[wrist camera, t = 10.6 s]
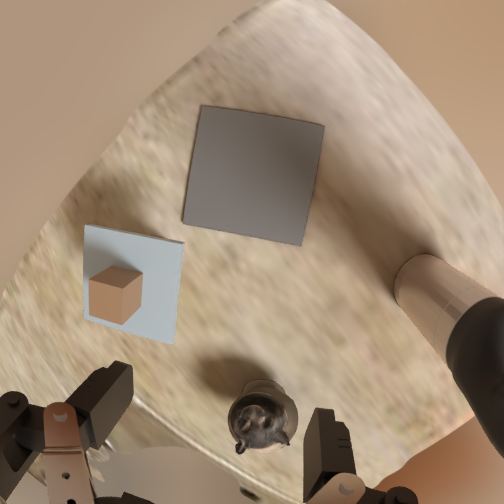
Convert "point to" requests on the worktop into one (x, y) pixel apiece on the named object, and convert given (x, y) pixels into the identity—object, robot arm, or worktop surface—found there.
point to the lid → (132, 281)
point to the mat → (253, 174)
